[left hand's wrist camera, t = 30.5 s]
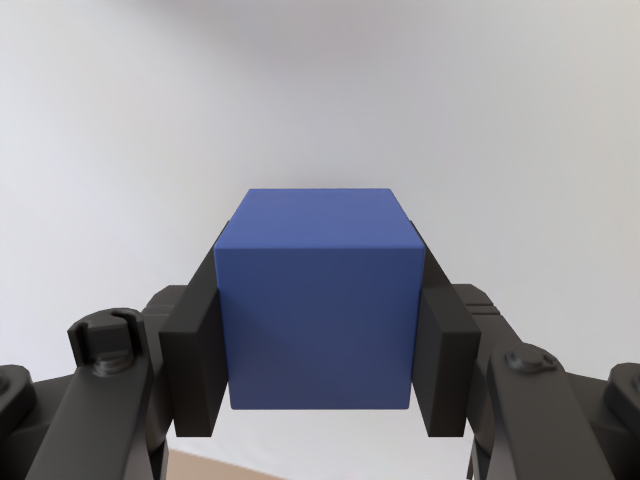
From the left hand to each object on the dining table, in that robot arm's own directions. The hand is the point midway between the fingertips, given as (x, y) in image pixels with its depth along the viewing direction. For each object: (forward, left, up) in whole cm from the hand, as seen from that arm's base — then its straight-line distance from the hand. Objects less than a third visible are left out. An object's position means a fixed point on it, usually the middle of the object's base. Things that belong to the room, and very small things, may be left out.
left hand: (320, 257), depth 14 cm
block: (0, 0, 0) cm, 0 cm away
